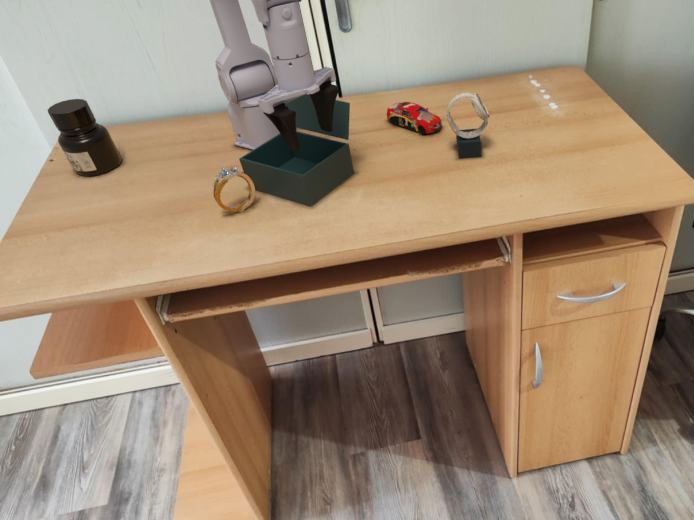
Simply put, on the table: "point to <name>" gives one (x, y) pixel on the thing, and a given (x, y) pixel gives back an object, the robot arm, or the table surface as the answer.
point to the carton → (299, 167)
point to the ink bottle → (84, 138)
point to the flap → (309, 120)
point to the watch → (469, 137)
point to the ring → (226, 175)
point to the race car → (413, 117)
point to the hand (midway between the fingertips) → (310, 139)
